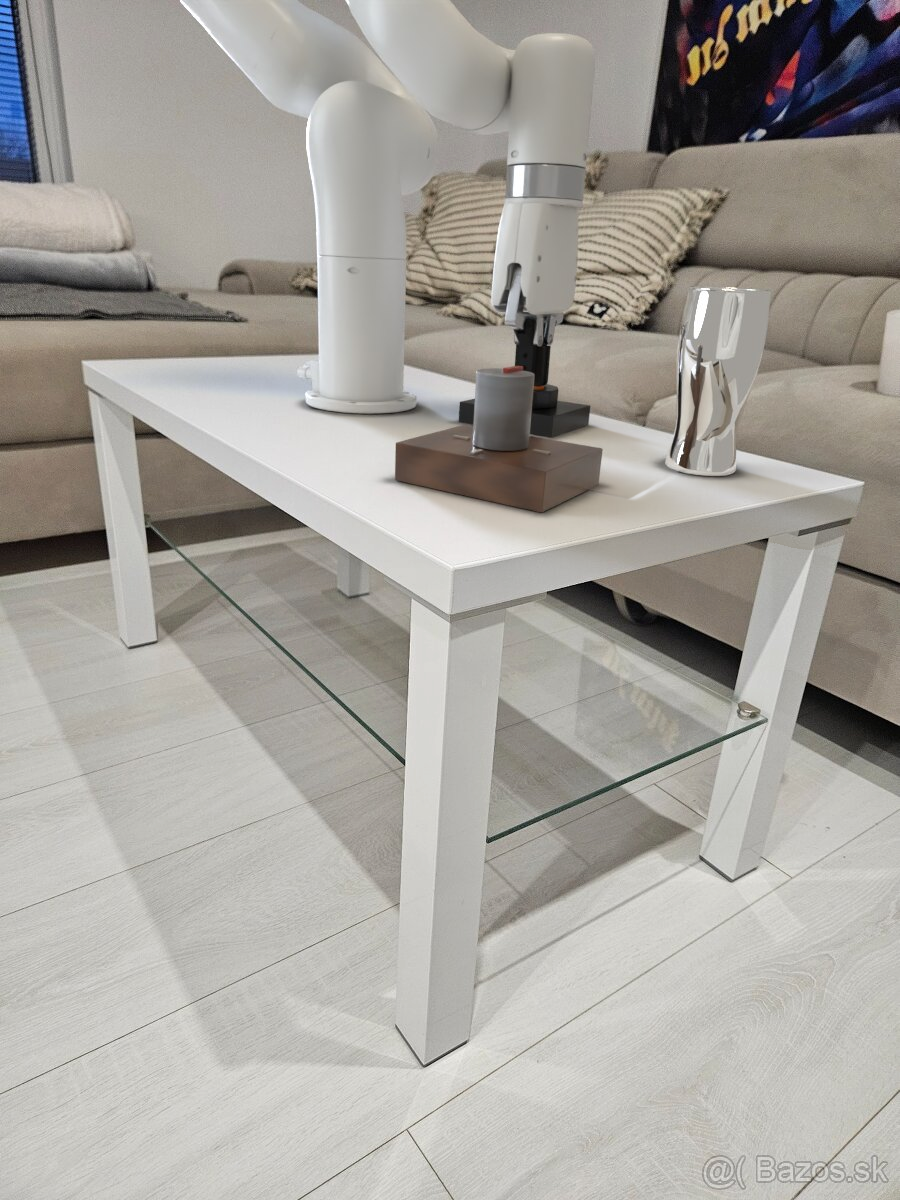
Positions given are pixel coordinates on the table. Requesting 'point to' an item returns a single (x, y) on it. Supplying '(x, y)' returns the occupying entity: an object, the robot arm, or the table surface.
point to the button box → (543, 413)
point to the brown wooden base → (499, 468)
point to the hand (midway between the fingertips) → (530, 384)
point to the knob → (503, 408)
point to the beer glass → (715, 375)
